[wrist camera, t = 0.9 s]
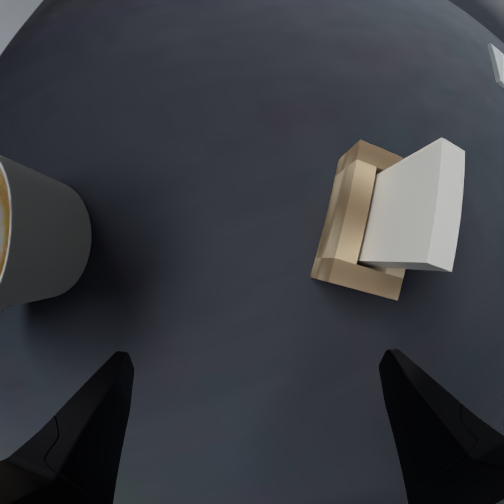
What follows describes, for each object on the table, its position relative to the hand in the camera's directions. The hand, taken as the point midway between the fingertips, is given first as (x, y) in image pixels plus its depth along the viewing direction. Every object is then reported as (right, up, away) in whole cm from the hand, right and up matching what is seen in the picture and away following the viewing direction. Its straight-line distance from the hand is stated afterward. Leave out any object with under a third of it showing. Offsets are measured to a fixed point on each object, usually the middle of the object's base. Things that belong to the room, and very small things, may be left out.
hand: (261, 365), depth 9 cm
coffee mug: (-19, +4, +12) cm, 23 cm away
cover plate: (+8, +6, +13) cm, 16 cm away
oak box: (+8, +6, +13) cm, 16 cm away
